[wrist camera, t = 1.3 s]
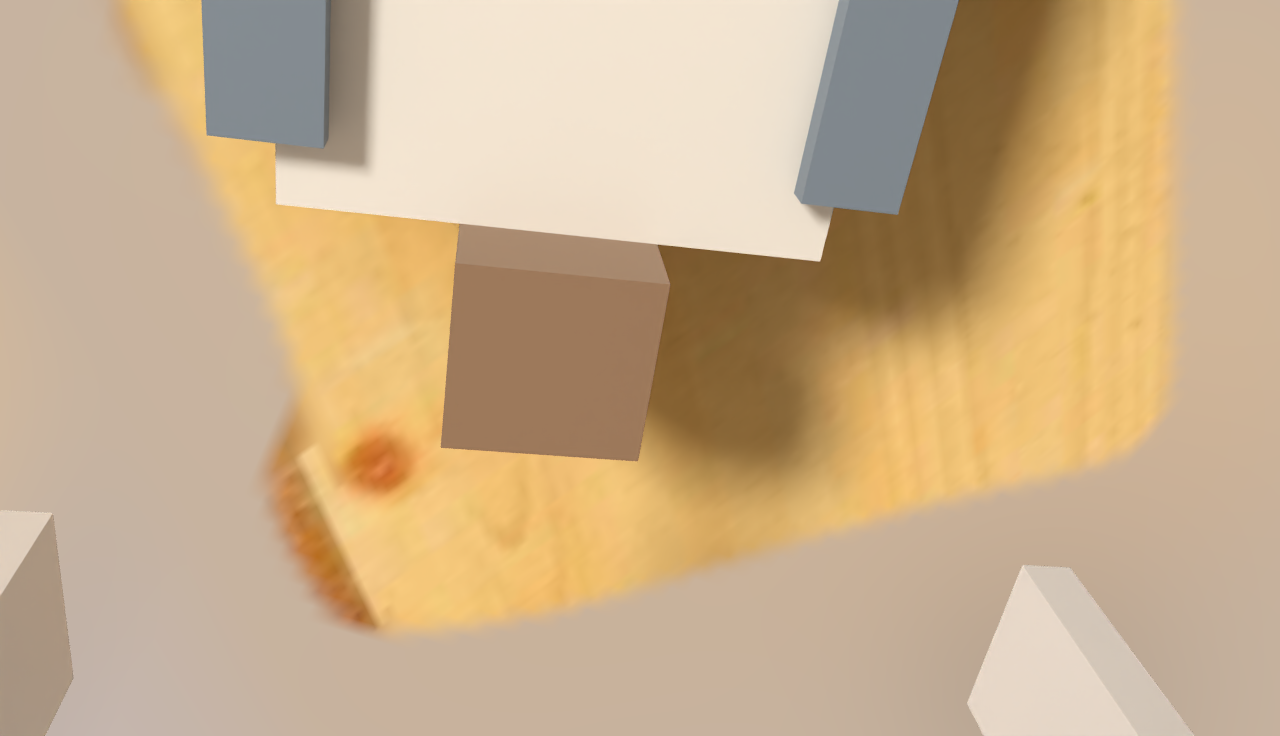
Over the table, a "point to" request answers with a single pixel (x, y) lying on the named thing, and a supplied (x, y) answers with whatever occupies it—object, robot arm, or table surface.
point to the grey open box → (836, 142)
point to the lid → (568, 181)
